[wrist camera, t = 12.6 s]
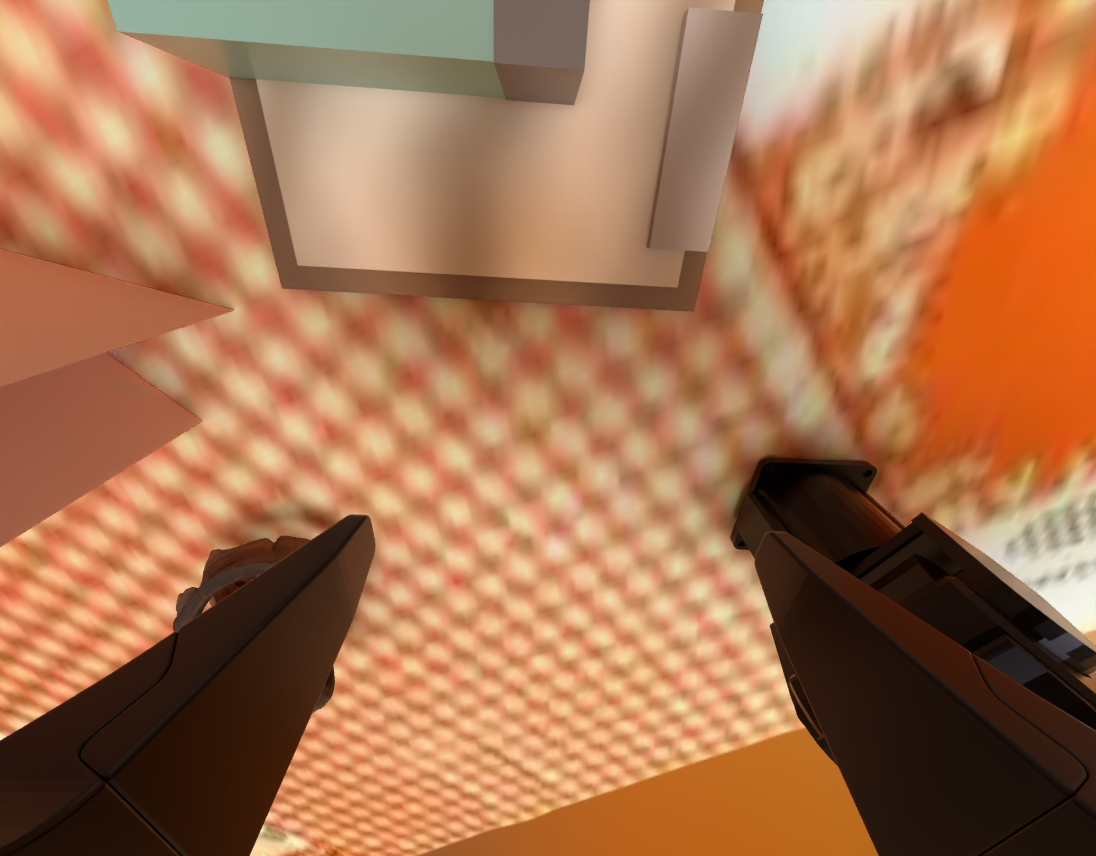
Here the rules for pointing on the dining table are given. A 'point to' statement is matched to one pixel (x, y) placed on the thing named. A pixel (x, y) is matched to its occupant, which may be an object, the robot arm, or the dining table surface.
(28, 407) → the greeting card
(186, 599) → the pottery mug
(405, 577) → the dining table surface
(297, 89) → the clipboard
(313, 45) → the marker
